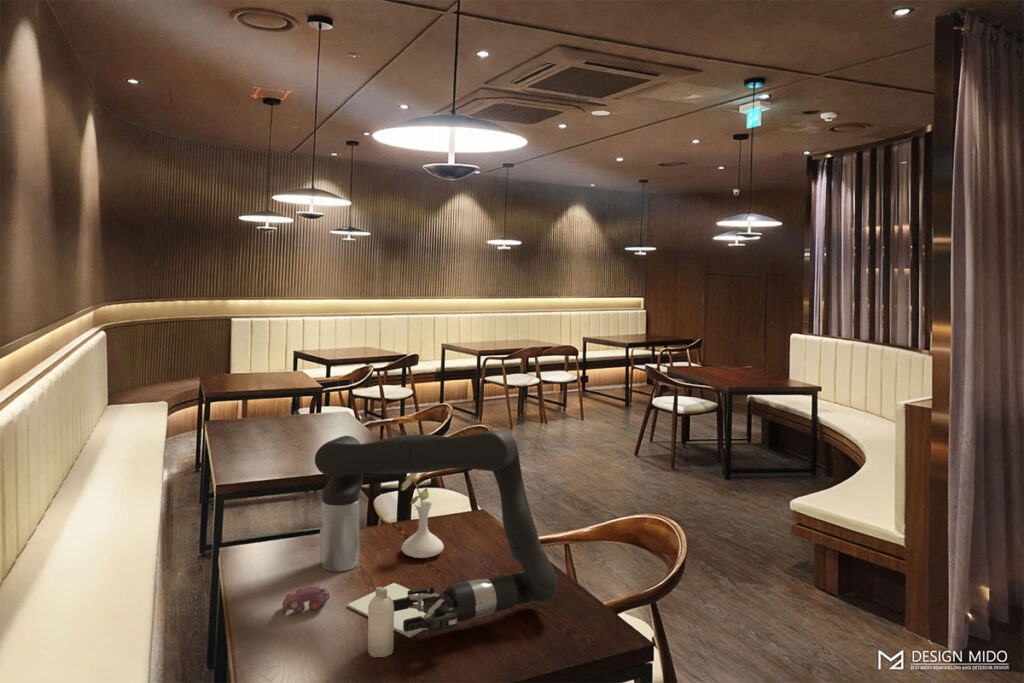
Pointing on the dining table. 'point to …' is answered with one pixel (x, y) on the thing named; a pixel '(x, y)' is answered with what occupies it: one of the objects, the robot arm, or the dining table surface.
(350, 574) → the dining table surface
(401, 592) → the cream flat board
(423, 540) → the flower in vase
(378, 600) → the bottle with rectangular cap
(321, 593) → the video game controller
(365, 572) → the dining table surface
